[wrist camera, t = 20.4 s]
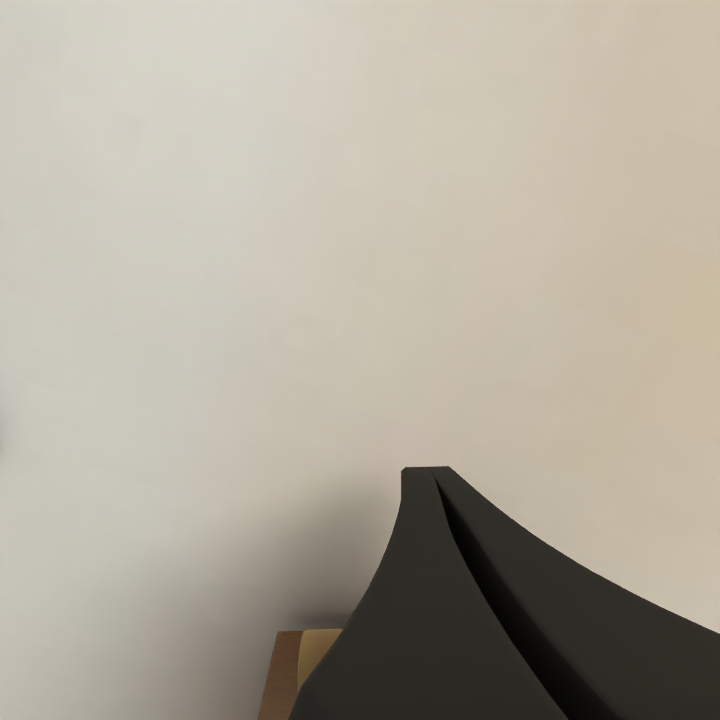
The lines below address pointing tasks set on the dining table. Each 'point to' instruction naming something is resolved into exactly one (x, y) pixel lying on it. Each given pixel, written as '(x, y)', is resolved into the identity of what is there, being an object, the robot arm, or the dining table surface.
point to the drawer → (292, 668)
